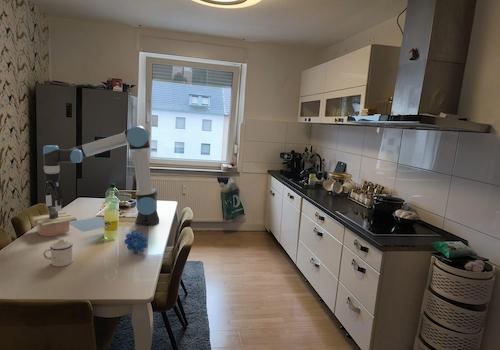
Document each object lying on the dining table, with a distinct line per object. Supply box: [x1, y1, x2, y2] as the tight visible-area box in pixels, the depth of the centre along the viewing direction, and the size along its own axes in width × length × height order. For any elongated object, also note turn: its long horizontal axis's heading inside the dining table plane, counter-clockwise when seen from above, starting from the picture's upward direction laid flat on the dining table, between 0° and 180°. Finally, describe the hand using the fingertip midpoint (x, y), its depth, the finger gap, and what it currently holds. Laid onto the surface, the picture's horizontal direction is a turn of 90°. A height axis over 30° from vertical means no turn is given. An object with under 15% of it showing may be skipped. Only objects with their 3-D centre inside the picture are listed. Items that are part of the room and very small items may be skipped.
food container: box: [118, 191, 132, 202], centre depth 256 cm, size 12×6×10 cm, turn 84°
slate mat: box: [70, 216, 105, 233], centre depth 210 cm, size 22×22×1 cm
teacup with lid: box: [42, 238, 73, 268], centre depth 155 cm, size 12×9×12 cm
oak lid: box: [30, 206, 78, 227], centre depth 193 cm, size 18×18×7 cm
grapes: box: [124, 230, 149, 254], centre depth 171 cm, size 12×7×12 cm, turn 105°
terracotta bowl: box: [36, 222, 71, 237], centre depth 194 cm, size 16×16×7 cm
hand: (53, 208), depth 192 cm, fingers open, 13 cm apart
